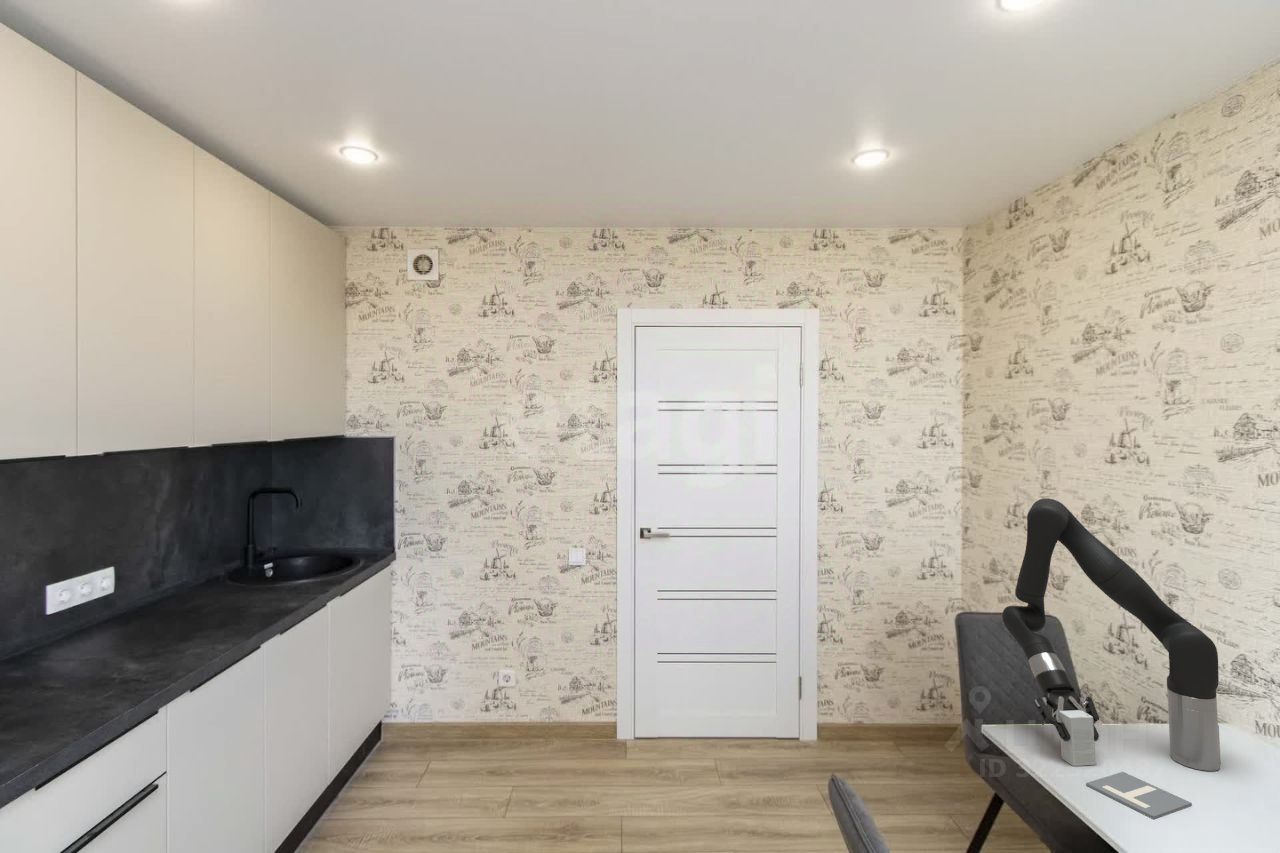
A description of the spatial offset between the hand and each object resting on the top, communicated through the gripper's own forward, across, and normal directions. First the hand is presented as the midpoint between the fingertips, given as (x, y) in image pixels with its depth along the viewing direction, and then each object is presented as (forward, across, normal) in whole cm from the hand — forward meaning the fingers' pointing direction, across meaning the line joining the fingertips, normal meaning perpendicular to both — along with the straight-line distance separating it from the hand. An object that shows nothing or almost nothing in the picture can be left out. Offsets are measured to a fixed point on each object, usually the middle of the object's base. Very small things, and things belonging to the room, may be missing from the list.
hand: (1081, 740), depth 153 cm
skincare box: (+3, 0, +6) cm, 7 cm away
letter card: (+14, +4, -5) cm, 15 cm away
